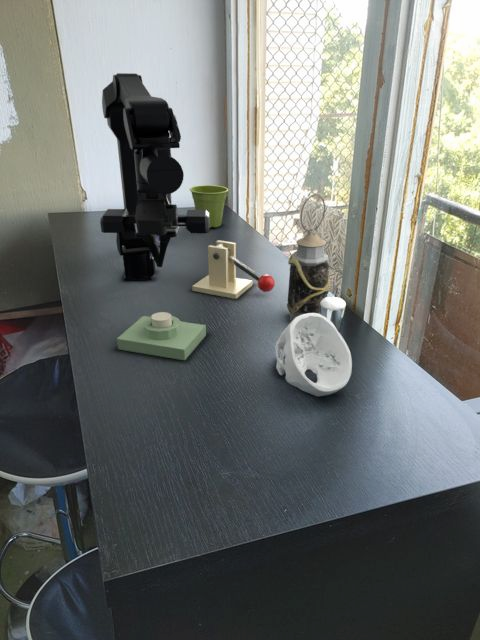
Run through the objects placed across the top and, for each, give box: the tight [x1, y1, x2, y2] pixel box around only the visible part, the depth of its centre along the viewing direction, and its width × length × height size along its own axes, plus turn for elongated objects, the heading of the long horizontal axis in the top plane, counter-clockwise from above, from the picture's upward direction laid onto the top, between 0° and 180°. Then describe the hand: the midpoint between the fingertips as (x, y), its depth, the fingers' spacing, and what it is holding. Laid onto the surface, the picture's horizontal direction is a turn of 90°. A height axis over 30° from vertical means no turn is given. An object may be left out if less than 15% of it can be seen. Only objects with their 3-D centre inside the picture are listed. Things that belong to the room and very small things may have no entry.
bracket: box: [191, 239, 253, 300], centre depth 118 cm, size 11×9×10 cm
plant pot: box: [189, 184, 229, 229], centre depth 162 cm, size 12×12×11 cm
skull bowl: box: [274, 313, 353, 398], centre depth 85 cm, size 10×14×12 cm
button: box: [150, 311, 172, 328], centre depth 94 cm, size 4×4×2 cm
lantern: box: [286, 193, 331, 322], centre depth 100 cm, size 9×8×25 cm
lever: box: [218, 243, 276, 293], centre depth 115 cm, size 15×4×4 cm, turn 68°
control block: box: [116, 315, 207, 361], centre depth 96 cm, size 13×10×4 cm
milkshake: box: [320, 287, 347, 334], centre depth 95 cm, size 4×5×10 cm
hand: (160, 266), depth 98 cm, fingers closed
